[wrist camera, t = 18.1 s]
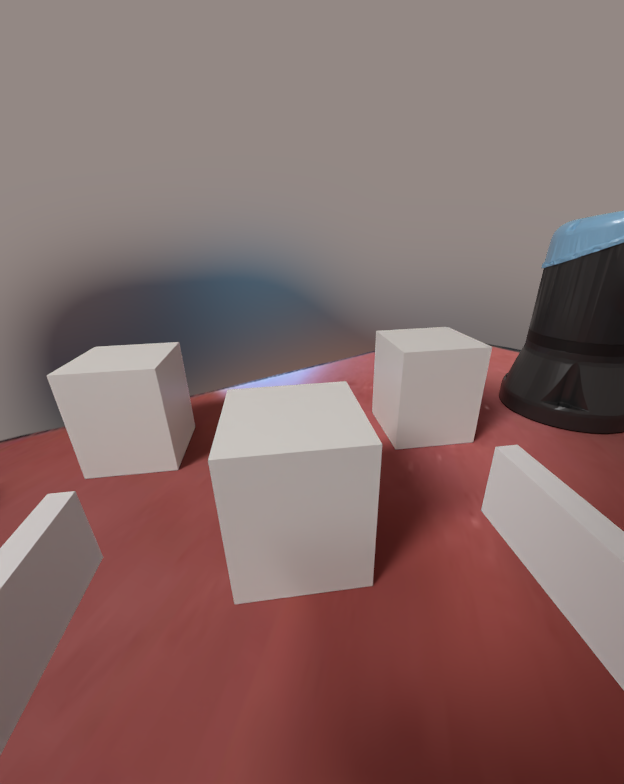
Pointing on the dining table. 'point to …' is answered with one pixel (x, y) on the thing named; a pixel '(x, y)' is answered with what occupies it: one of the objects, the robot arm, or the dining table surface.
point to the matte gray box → (126, 408)
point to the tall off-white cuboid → (296, 490)
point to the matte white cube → (428, 386)
